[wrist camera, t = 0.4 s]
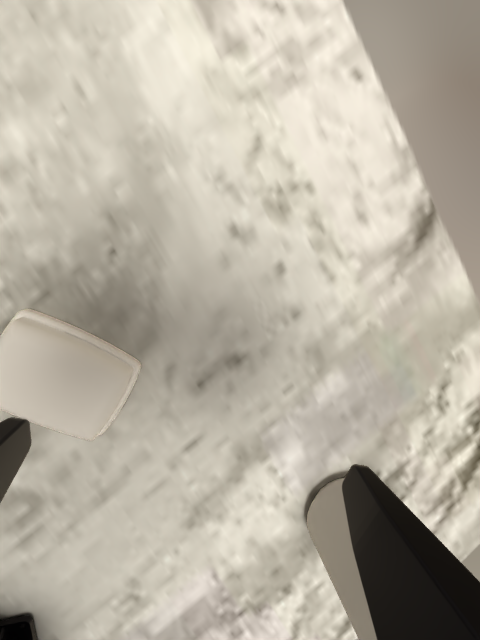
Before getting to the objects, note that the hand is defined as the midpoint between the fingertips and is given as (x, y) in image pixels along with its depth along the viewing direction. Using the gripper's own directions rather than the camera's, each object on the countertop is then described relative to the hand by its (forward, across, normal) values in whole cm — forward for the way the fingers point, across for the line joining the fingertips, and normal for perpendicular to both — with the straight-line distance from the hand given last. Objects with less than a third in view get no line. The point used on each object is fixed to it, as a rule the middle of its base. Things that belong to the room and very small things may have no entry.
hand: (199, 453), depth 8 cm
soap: (+12, +9, +8) cm, 17 cm away
